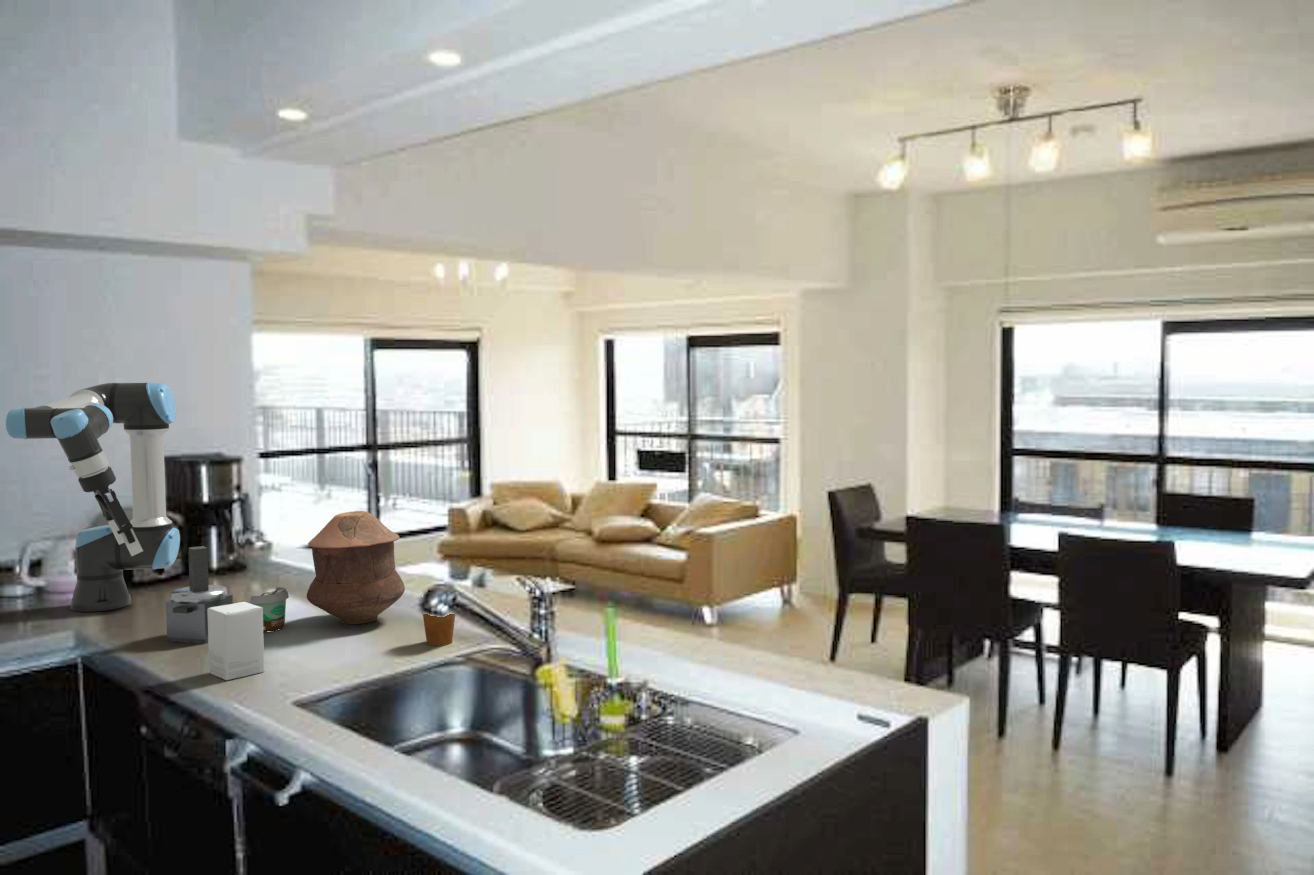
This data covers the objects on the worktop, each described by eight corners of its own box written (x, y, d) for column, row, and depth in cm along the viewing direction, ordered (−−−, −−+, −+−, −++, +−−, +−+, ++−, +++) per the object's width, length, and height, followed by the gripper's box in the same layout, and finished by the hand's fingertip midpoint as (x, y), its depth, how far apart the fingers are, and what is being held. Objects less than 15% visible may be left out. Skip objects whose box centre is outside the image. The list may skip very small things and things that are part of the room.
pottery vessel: (423, 621, 265) (421, 512, 263) (334, 639, 247) (332, 522, 245) (376, 605, 283) (374, 503, 281) (290, 620, 265) (288, 511, 263)
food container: (271, 635, 250) (271, 597, 249) (250, 634, 251) (249, 596, 250) (298, 623, 262) (298, 587, 261) (278, 622, 263) (277, 586, 263)
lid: (178, 606, 239) (176, 554, 238) (165, 597, 249) (163, 547, 248) (233, 599, 247) (232, 548, 246) (218, 590, 257) (217, 541, 256)
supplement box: (265, 672, 219) (264, 606, 218) (226, 681, 212) (224, 614, 211) (247, 664, 225) (245, 600, 224) (208, 673, 218) (206, 607, 217)
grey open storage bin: (201, 628, 257) (200, 590, 256) (238, 630, 255) (237, 592, 254) (161, 643, 242) (160, 603, 242) (200, 645, 240) (199, 605, 240)
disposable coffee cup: (425, 649, 237) (424, 601, 237) (416, 640, 246) (415, 593, 245) (463, 644, 242) (463, 597, 241) (453, 635, 250) (452, 589, 250)
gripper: (67, 470, 243) (104, 544, 250) (87, 486, 224) (126, 565, 231) (99, 458, 247) (134, 531, 254) (121, 473, 228) (158, 551, 236)
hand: (130, 547), depth 243 cm, fingers open, 13 cm apart
